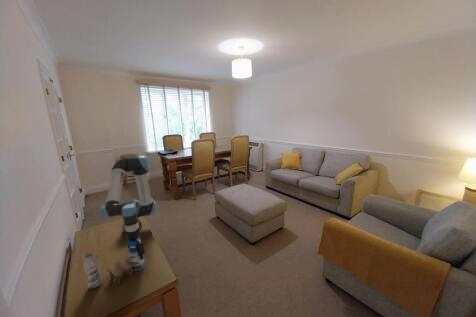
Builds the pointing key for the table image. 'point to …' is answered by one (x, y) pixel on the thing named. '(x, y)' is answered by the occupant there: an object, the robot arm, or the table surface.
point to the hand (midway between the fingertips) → (137, 260)
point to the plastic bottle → (92, 271)
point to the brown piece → (120, 269)
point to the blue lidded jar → (135, 256)
